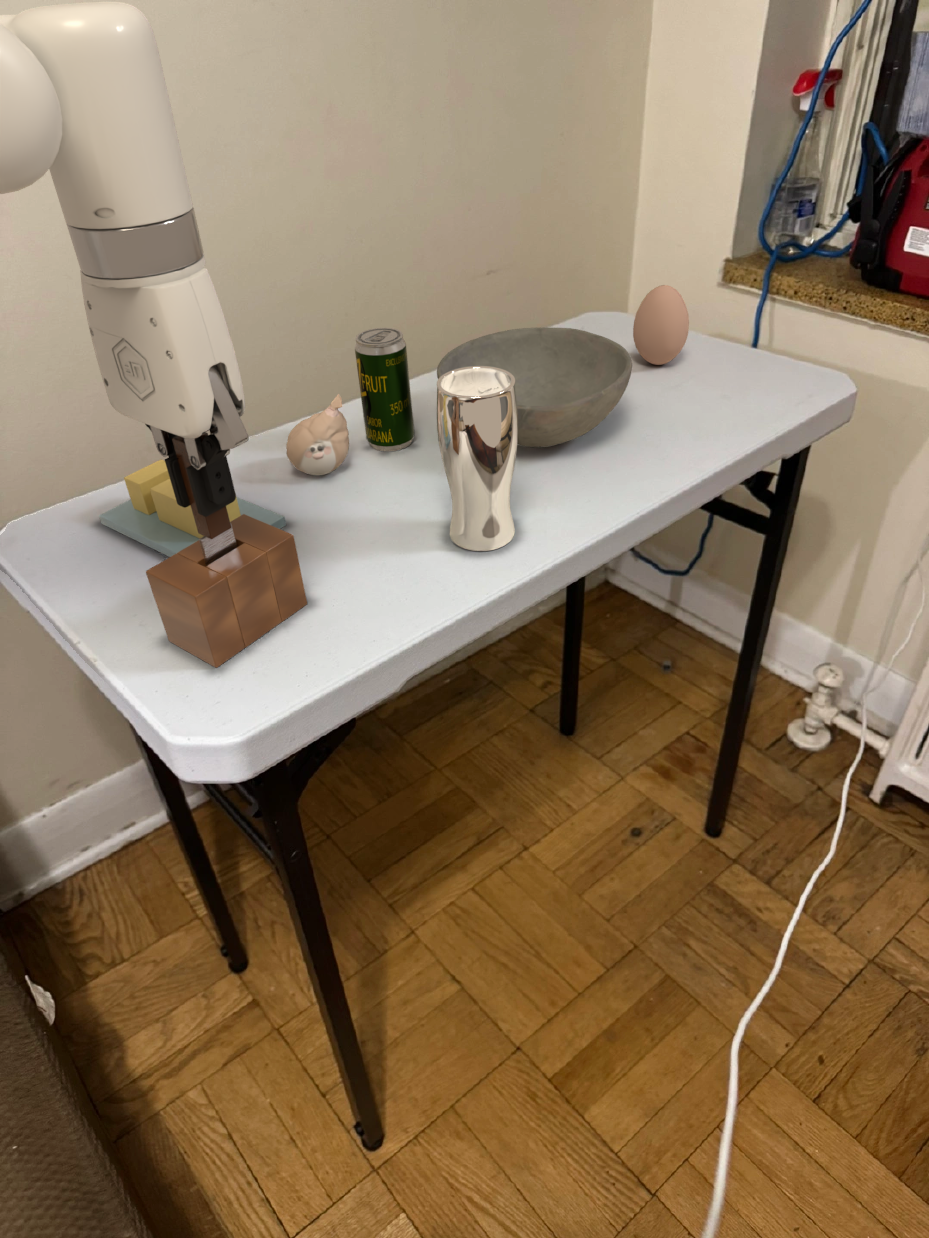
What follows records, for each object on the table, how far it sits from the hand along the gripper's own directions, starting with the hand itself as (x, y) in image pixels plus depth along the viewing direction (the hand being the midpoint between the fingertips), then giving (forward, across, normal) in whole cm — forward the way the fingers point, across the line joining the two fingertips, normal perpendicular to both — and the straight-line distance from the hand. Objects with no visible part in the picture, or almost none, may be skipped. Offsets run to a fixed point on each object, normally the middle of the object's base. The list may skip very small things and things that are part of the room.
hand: (207, 502), depth 65 cm
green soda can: (+12, -11, +32) cm, 36 cm away
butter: (+11, -14, +8) cm, 20 cm away
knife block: (+12, 0, 0) cm, 12 cm away
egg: (+12, +4, +67) cm, 68 cm away
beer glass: (+12, +9, +22) cm, 27 cm away
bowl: (+12, +1, +43) cm, 45 cm away
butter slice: (+11, -21, +8) cm, 25 cm away
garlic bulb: (+12, -13, +23) cm, 29 cm away
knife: (+12, 0, 0) cm, 12 cm away
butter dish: (+12, -16, +8) cm, 21 cm away
